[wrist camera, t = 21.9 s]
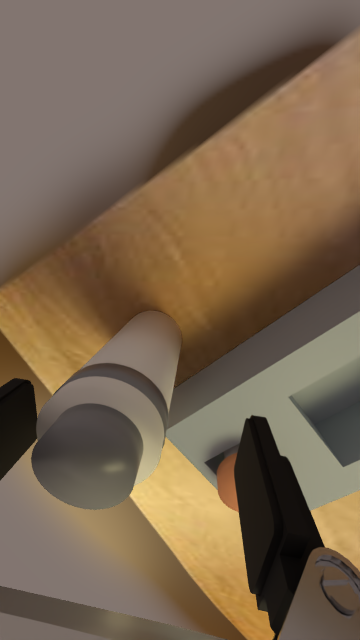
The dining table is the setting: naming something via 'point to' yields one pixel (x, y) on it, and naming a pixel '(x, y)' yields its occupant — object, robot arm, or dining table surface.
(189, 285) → the dining table surface
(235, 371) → the housing
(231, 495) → the orange knob plunger
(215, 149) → the dining table surface
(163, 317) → the cartridge
